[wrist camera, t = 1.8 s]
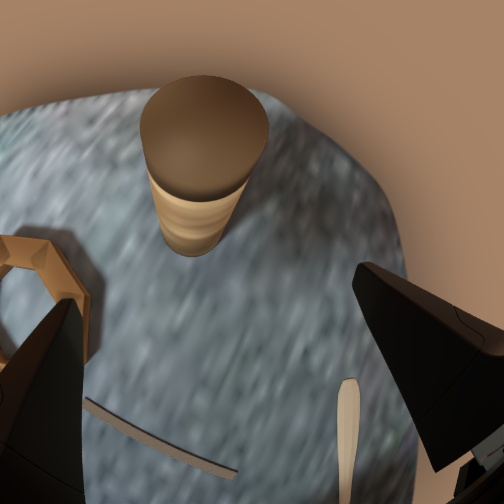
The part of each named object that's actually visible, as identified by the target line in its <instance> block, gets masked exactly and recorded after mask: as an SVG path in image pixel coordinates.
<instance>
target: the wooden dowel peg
mask: <svg viewBox="0 0 504 504" xmlns="http://www.w3.org/2000/svg"><path fill="white" fill-rule="evenodd" d="M268 133H269V123H268V118H267V115H266V112H265V110H264V108H263V106H262V104H261V103H260V102H259V100H258V99H257V98H256V97H255V96H254V95H253V94H252V93H251V92H250V91H249V90H247V89H246V88H244V87H243V86H241V85H239V84H237V83H235V82H233V81H231V80H228V79H224V78H221V77H216V76H206V75H205V76H204V75H203V76H191V77H186V78H182V79H179V80H176V81H173V82H171V83H169V84H167V85H166V86H164V87H162V88H161V89H160V90H158V91H157V92H156V93H155V94H154V95H153V96H152V97H151V98H150V100H149V101H148V102H147V104H146V106H145V107H144V109H143V112H142V115H141V119H140V135H141V140H142V146H143V151H144V156H145V161H146V166H147V170H148V175H149V180H150V184H151V189H152V193H153V198H154V202H155V206H156V210H157V214H158V219H159V223H160V227H161V231H162V235H163V238H164V240H165V242H166V244H167V245H168V246H169V247H170V248H171V249H172V250H173V251H174V252H176V253H177V254H180V255H182V256H186V257H197V256H201V255H204V254H206V253H208V252H209V251H211V250H212V249H213V248H214V247H215V246H216V245H217V243H218V241H219V239H220V237H221V235H222V233H223V231H224V229H225V227H226V225H227V222H228V220H229V218H230V216H231V214H232V212H233V210H234V208H235V206H236V204H237V202H238V200H239V197H240V195H241V193H242V191H243V189H244V187H245V185H246V183H247V181H248V179H249V177H250V175H251V173H252V171H253V169H254V167H255V165H256V163H257V161H258V159H259V157H260V155H261V153H262V151H263V149H264V147H265V145H266V142H267V139H268Z"/></svg>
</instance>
